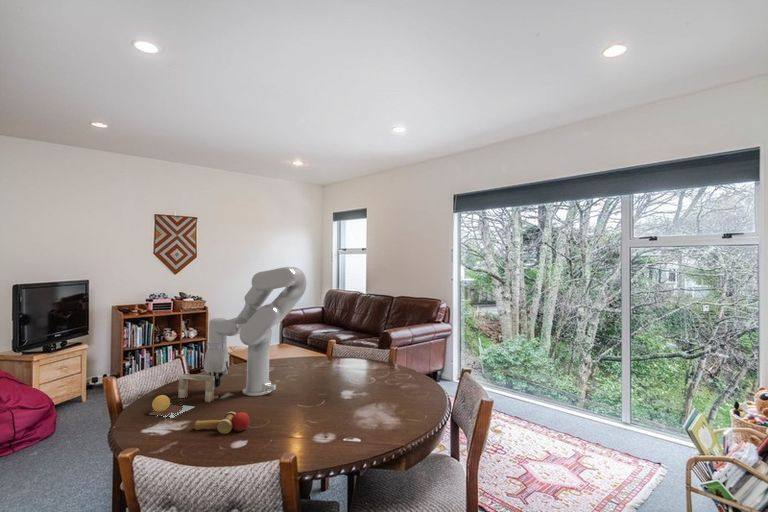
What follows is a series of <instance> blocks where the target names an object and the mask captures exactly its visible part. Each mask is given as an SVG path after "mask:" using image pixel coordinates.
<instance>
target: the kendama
mask: <svg viewBox="0 0 768 512" xmlns="http://www.w3.org/2000/svg"><path fill="white" fill-rule="evenodd" d="M250 418H251V417H250V416H249V414H248V413H246V412H245V411H244V412H243V411H241V412H237V413H236V412H234V411H229V412H227V413H226V414H225V415H224V419H211V420H210V419H209V420H196V421H195V424H194V429H195V431H199V430H205V429H211V428H215V427H216V428H217V431H218V432H219V433H220V434H229V433H230V432H231V431H232V429H233V430H235V432H242V431H244V430H246V429H247V428H248V427H249V426H250V420H251V419H250Z"/></svg>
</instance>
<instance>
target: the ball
mask: <svg viewBox="0 0 768 512" xmlns="http://www.w3.org/2000/svg"><path fill="white" fill-rule="evenodd" d="M170 404H171V399H170V398H169V397H168V395H165V394H160V395H158V396H156V397H155V398H154V399H153V400H152V404H151V406H152V409H153V411H154V410H155V411H157V412H161V411H164V410H166V409H167V408H168V407H169V405H170Z"/></svg>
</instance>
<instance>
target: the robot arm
mask: <svg viewBox="0 0 768 512" xmlns="http://www.w3.org/2000/svg"><path fill="white" fill-rule="evenodd" d="M282 288H284V289H283V290H282V291H281V292H280V293H279V294H278V295H277V296H276V298H274V300H273V301H271V302H270V303H268V304H265V305H264V303H265V302H266V300H267V299H268V297H269V296H270V295H271V294H272V293H273V291H274V290H277V289H282ZM306 289H307V278H306V274H305V273H304V272H303V270H302V269H301V268H299V267H296V266H295V267H294V266H284V267H279V268H275V269H274V268H273V269H269V270H263V271H258V272H257V273H255V274H254V275H253V276H252V278H251V287H250V289H249V290H248V291H247V292H246V294H245V295H244V297H243V300H244V301H245V302H244V303H245V304H244V307H243V308H242V310H241V311H240V313H239V314H238V315H237V316H236V317H234V318H231V319H226V318H224V317H223V318H221V317H218V318H217V317H215V318H212V319H210V320H209V322H208V342H207V343H206V346H207V347H208V348H207V349H206V351H205V355H204V360H203V371H205V373H206V374H209V376H215V382H214V389H216V388H219V387H220V385H221V378H222V377H223V376H225V375H228V374H229V371H228V370H229V367H230V365H229V364H230V360H229V350H228V348H227V341H228V340H227V338H228V337H234V336H236V335H237V336H238V335H239V339H240V342H241V343H242V344H243V345H245V346H248V347H247V352H246V353H247V354H246V355H247V358H246V360H247V361H246V387H244V388H243V389H242V394H243V395H245V396H249V397H252V396H253V397H258V396H264V395H267V394H270V393H271V392H272V391H275V390H277V384H273V383H272V381H271V380H270V355H271V354H270V353H271V352H270V351H271V341H272V335H273V334H272V328H273V327H274V326H275V325H278V324H280V323H281V322H282V321H283V320H284V319H285V318H286V316H288V314H289V313H290V312H291V310H293V308H294V307H295V306H296V305H297V303H298V302H299V301H300V300H301V299H302V297H303V295H305V291H306Z"/></svg>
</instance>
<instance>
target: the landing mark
mask: <svg viewBox="0 0 768 512" xmlns="http://www.w3.org/2000/svg"><path fill="white" fill-rule="evenodd" d="M182 405H183V404H182ZM182 407H183V408H182V410H181V411H180V410H179V411H180V412H179V413H180V415H181V413H182V414H183V412H184V413H186V412H187V411H190V410H191V409H194V408H195V406H193V405H186V404H185V405H183V406H182ZM185 411H186V412H185ZM179 413H178V412H177V415H178V416H179ZM169 414H170V413H169ZM169 414H168V415H169ZM173 414H174V413H172V412H171V415H170V416H169V417H170V418H169V419H173V418H176V417H178V416H177V415H175V414H176V413H175V414H174V415H175V416H176V417H175V416H174V415H173ZM168 415H167V416H168ZM161 416H162V415H161ZM167 416H166V415H165V416H163V417H162V418H166V417H167ZM156 417H158V415H157V416H156Z"/></svg>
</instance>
